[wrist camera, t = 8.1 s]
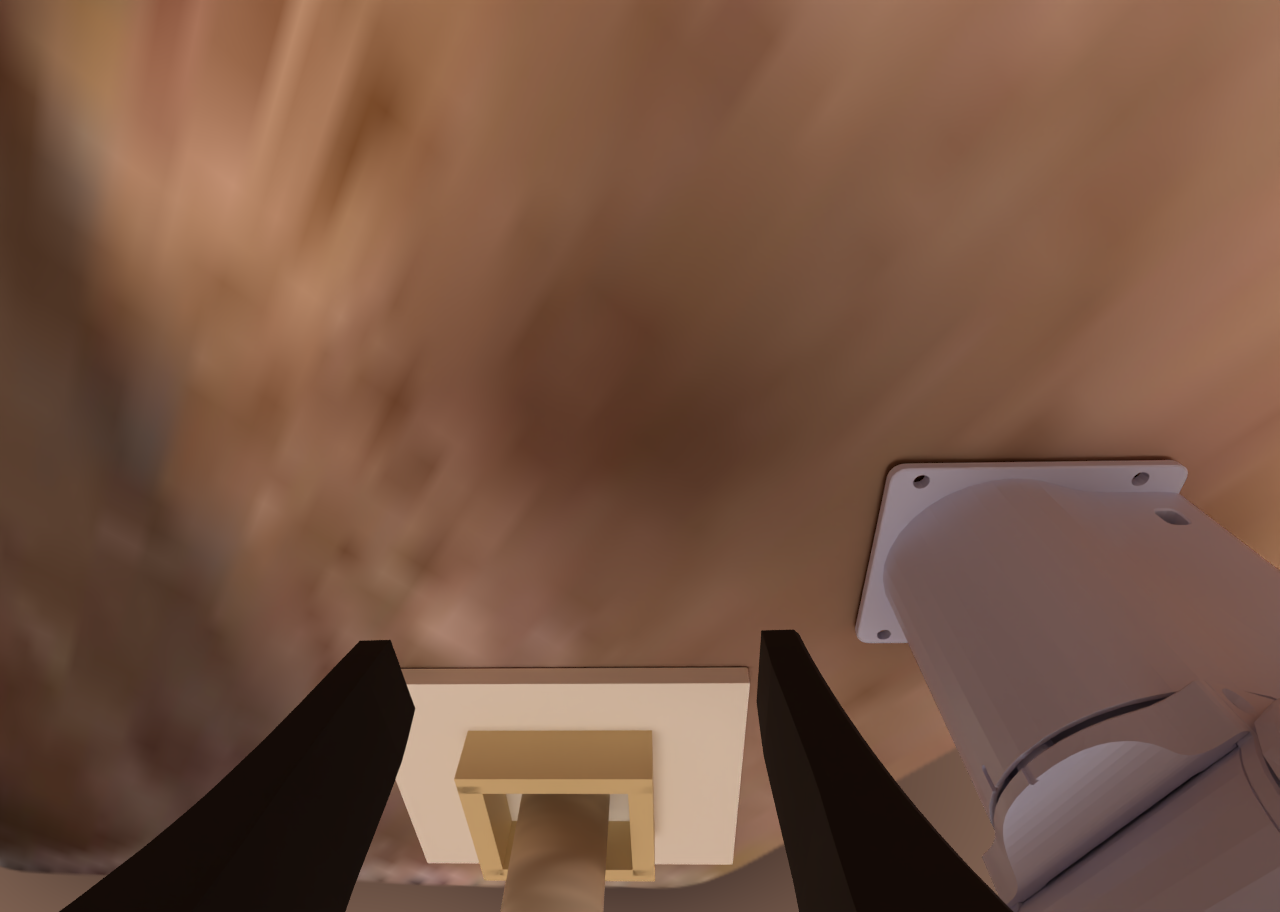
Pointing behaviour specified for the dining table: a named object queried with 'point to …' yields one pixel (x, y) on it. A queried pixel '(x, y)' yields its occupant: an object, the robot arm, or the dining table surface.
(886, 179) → the dining table surface
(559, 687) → the socket plate
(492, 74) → the dining table surface
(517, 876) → the birch peg
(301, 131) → the dining table surface
